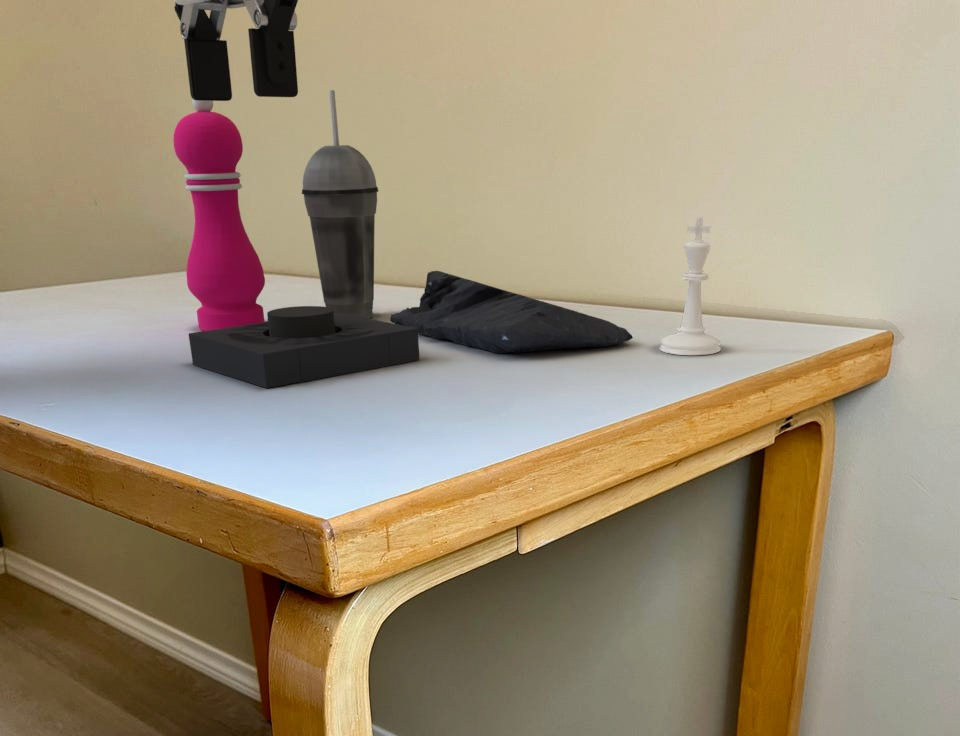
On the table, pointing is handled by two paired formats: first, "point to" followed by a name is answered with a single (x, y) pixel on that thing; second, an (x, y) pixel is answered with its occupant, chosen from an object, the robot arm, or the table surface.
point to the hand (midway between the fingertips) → (242, 98)
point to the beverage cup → (342, 223)
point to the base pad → (303, 351)
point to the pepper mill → (218, 222)
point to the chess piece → (693, 303)
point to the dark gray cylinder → (301, 322)
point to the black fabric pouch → (502, 319)
